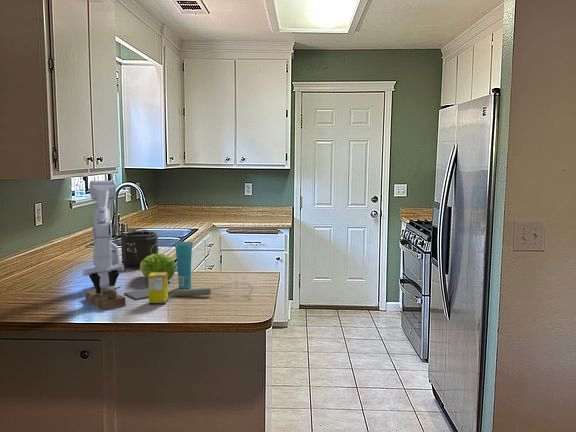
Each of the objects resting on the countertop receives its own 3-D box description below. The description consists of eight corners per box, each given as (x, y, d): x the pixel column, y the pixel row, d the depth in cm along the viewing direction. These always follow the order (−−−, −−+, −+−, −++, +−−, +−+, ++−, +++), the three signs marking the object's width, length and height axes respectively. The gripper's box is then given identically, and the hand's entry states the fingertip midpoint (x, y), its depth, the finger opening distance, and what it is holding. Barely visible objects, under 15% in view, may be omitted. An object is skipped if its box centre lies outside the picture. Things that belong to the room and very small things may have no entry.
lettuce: (163, 260, 242) (138, 247, 235) (185, 262, 225) (158, 248, 217) (151, 285, 238) (125, 273, 231) (172, 290, 221) (144, 276, 213)
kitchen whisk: (170, 294, 205) (170, 279, 204) (253, 296, 203) (253, 280, 203) (166, 298, 199) (165, 283, 198) (252, 300, 197) (251, 284, 197)
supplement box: (168, 300, 196) (167, 271, 195) (165, 304, 190) (164, 275, 189) (152, 300, 196) (151, 271, 194) (148, 305, 190) (147, 275, 189)
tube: (194, 286, 217) (193, 240, 214) (192, 289, 212) (191, 242, 209) (176, 286, 217) (175, 240, 214) (174, 289, 212) (173, 242, 210)
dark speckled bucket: (156, 260, 271) (156, 230, 269) (161, 266, 254) (160, 235, 252) (120, 262, 265) (119, 231, 263) (122, 269, 248) (121, 237, 246)
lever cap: (95, 293, 194) (94, 284, 194) (107, 291, 197) (106, 282, 196) (102, 297, 189) (102, 287, 188) (114, 295, 192) (114, 285, 191)
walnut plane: (85, 299, 197) (85, 283, 197) (106, 295, 203) (106, 280, 202) (103, 309, 184) (103, 293, 183) (125, 305, 189) (125, 289, 188)
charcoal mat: (124, 294, 204) (124, 292, 204) (148, 289, 211) (148, 288, 211) (136, 300, 196) (136, 298, 196) (160, 295, 203) (160, 293, 202)
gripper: (87, 259, 183) (88, 297, 185) (126, 254, 193) (128, 290, 194) (80, 256, 189) (81, 293, 190) (119, 252, 198) (120, 287, 200)
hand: (104, 292), depth 193 cm, fingers closed on lever cap, 4 cm apart
